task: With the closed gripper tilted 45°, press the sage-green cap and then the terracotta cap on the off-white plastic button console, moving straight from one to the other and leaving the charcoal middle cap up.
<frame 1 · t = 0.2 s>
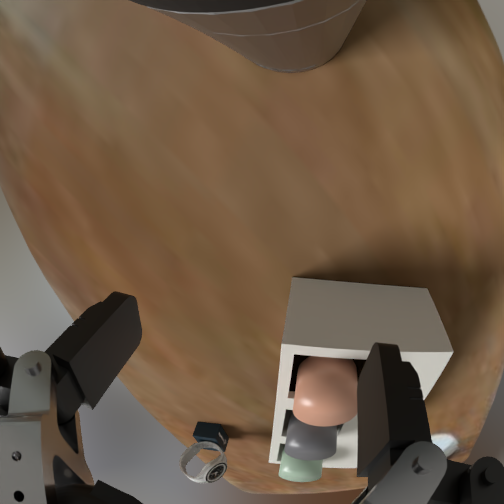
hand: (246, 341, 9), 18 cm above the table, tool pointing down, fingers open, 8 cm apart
terracotta button: (326, 391, 22), point 10 cm above the table, slide at 0.0 cm
sage button: (301, 462, 29), point 10 cm above the table, slide at 0.0 cm
watch: (214, 429, 48), on the table
button console: (341, 365, 34), on the table
charcoal button: (312, 434, 26), point 10 cm above the table, slide at 0.0 cm
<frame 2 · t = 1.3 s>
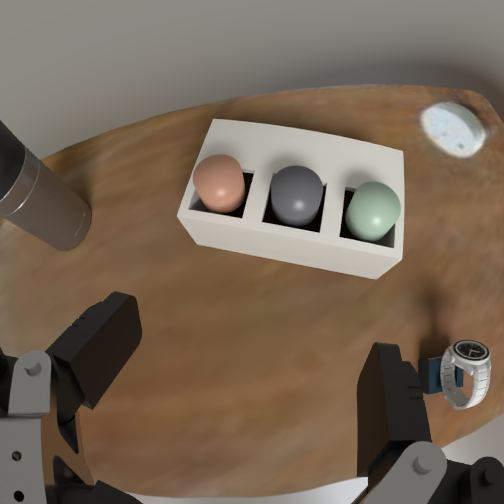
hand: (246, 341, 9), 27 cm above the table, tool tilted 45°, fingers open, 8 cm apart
terracotta button: (220, 184, 31), point 10 cm above the table, slide at 0.0 cm
sage button: (372, 212, 29), point 10 cm above the table, slide at 0.0 cm
watch: (434, 372, 32), on the table
button console: (295, 212, 41), on the table
charcoal button: (296, 196, 30), point 10 cm above the table, slide at 0.0 cm
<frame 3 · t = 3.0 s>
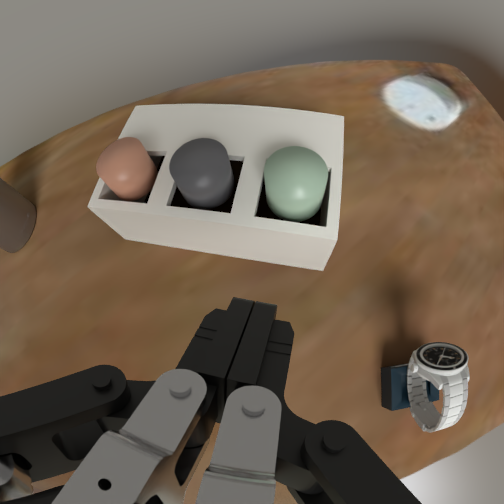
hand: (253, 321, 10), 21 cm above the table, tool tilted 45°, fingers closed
terracotta button: (127, 169, 27), point 10 cm above the table, slide at 0.0 cm
sage button: (295, 184, 25), point 10 cm above the table, slide at 0.0 cm
watch: (403, 382, 27), on the table
button console: (228, 199, 36), on the table
charcoal button: (203, 173, 26), point 10 cm above the table, slide at 0.0 cm
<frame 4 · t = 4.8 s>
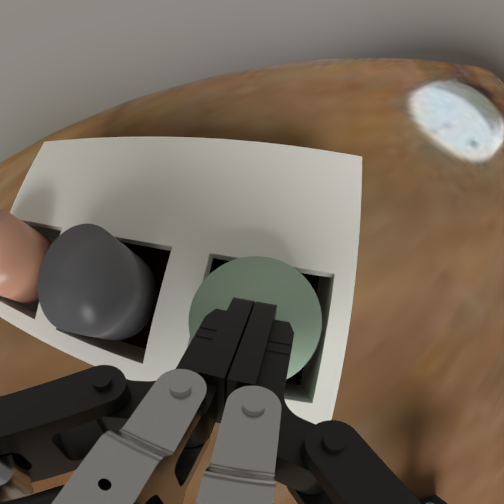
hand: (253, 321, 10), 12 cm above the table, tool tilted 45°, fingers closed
terracotta button: (11, 259, 15), point 10 cm above the table, slide at 0.0 cm
sage button: (258, 325, 13), point 9 cm above the table, slide at 0.6 cm, touching gripper
button console: (176, 280, 24), on the table
charcoal button: (97, 286, 14), point 10 cm above the table, slide at 0.0 cm
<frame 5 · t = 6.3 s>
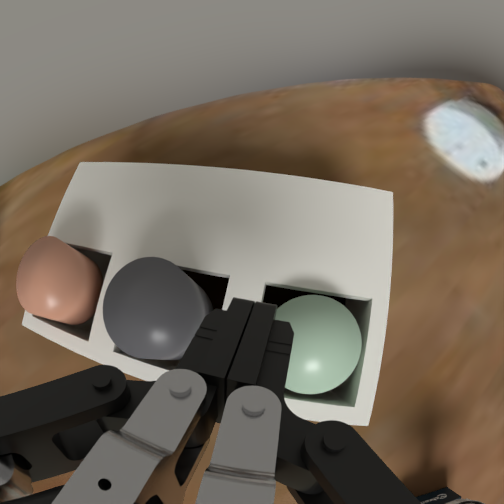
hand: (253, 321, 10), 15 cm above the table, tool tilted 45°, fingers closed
terracotta button: (59, 282, 17), point 10 cm above the table, slide at 0.0 cm
sage button: (309, 346, 16), point 8 cm above the table, slide at 2.0 cm
button console: (214, 297, 26), on the table
charcoal button: (160, 313, 16), point 10 cm above the table, slide at 0.0 cm
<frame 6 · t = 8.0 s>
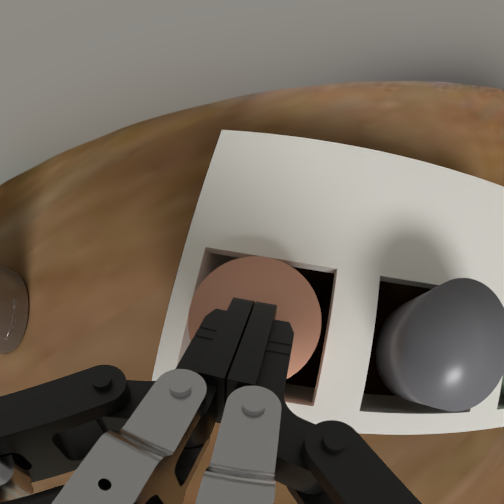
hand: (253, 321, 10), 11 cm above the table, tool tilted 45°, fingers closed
terracotta button: (257, 325, 13), point 9 cm above the table, slide at 1.5 cm, touching gripper
button console: (380, 313, 21), on the table
charcoal button: (441, 347, 10), point 10 cm above the table, slide at 0.0 cm
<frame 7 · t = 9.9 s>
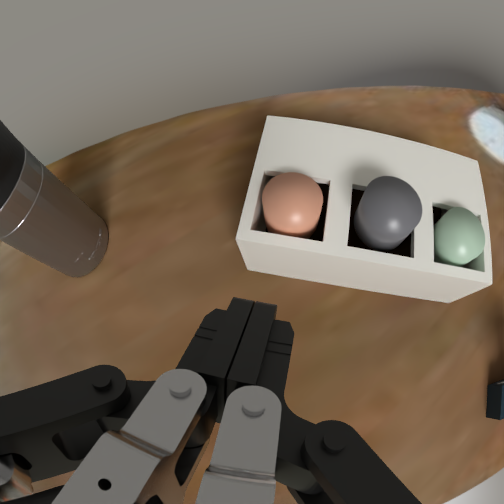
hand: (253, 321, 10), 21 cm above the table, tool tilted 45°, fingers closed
terracotta button: (292, 208, 26), point 8 cm above the table, slide at 2.0 cm
sage button: (455, 240, 24), point 8 cm above the table, slide at 2.0 cm
watch: (500, 395, 25), on the table
button console: (361, 229, 33), on the table
charcoal button: (386, 214, 23), point 10 cm above the table, slide at 0.0 cm
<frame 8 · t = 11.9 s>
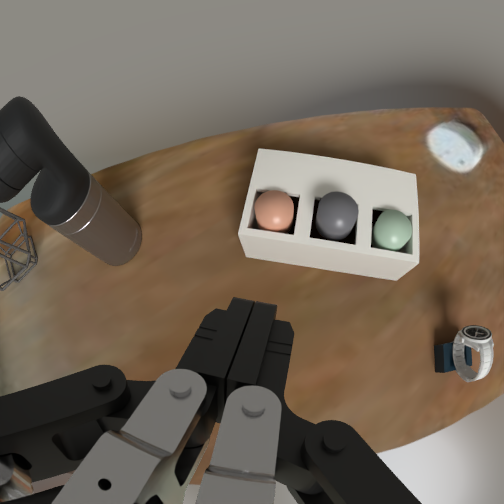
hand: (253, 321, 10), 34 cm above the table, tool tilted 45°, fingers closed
terracotta button: (274, 214, 40), point 8 cm above the table, slide at 2.0 cm
sage button: (390, 232, 38), point 8 cm above the table, slide at 2.0 cm
watch: (447, 355, 39), on the table
geometric lantern: (21, 263, 52), on the table
button console: (328, 227, 48), on the table
charcoal button: (336, 216, 37), point 10 cm above the table, slide at 0.0 cm
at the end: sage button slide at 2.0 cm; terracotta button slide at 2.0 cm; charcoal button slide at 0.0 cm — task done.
